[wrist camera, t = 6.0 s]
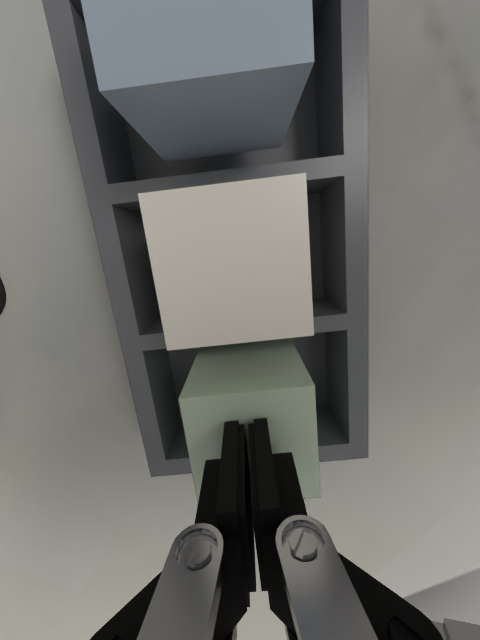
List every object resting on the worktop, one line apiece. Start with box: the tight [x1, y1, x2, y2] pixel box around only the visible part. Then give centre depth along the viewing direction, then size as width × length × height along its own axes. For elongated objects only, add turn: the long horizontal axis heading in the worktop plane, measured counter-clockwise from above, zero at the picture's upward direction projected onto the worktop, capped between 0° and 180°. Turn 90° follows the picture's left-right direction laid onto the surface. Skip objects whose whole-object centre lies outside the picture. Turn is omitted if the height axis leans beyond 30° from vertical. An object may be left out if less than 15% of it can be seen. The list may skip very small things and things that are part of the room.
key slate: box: [81, 0, 315, 162], centre depth 9 cm, size 5×5×6 cm
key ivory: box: [138, 173, 314, 351], centre depth 12 cm, size 5×5×6 cm
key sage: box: [179, 338, 321, 502], centre depth 14 cm, size 5×5×6 cm
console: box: [42, 0, 368, 477], centre depth 16 cm, size 12×22×5 cm, turn 6°
